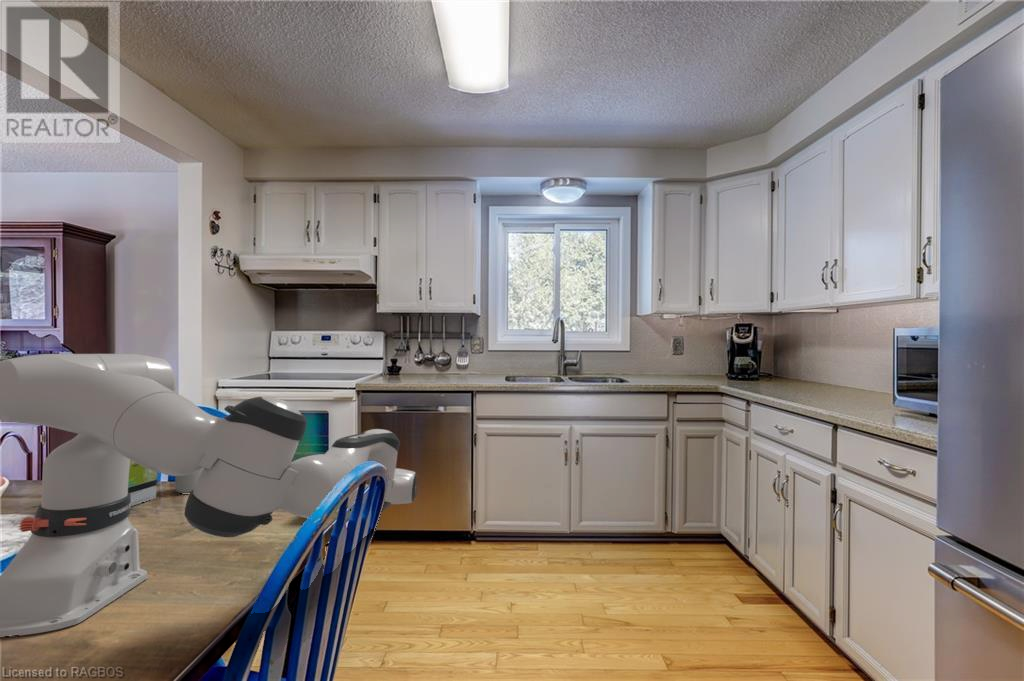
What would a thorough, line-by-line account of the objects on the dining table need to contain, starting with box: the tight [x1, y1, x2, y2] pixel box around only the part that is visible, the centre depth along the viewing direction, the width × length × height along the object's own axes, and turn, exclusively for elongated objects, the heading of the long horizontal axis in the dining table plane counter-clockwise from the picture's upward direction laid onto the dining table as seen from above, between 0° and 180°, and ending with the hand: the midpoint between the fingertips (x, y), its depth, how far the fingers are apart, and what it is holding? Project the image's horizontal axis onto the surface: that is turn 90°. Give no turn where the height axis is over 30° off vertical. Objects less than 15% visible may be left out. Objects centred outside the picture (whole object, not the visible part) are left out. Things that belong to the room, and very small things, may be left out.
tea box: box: [128, 460, 159, 507], centre depth 120 cm, size 15×10×15 cm, turn 171°
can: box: [174, 467, 204, 494], centre depth 134 cm, size 8×8×12 cm
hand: (303, 480), depth 123 cm, fingers closed
